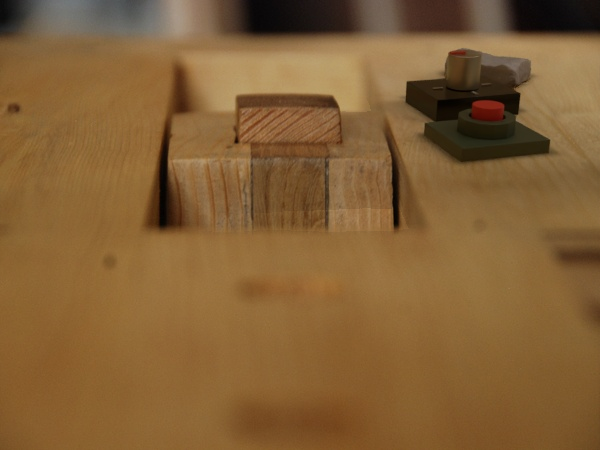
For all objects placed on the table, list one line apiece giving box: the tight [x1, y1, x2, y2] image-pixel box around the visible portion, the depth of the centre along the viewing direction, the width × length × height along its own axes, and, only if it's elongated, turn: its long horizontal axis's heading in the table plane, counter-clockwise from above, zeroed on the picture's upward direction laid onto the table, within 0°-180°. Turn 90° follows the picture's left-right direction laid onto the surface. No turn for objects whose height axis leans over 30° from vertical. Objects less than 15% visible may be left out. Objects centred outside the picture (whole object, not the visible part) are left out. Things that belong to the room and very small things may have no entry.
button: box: [471, 100, 504, 122], centre depth 94 cm, size 4×4×2 cm
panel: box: [405, 75, 521, 122], centre depth 111 cm, size 12×10×3 cm
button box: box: [423, 109, 551, 163], centre depth 95 cm, size 11×10×4 cm
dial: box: [445, 49, 482, 91], centre depth 109 cm, size 4×4×5 cm
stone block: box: [444, 47, 532, 89], centre depth 126 cm, size 12×5×10 cm
